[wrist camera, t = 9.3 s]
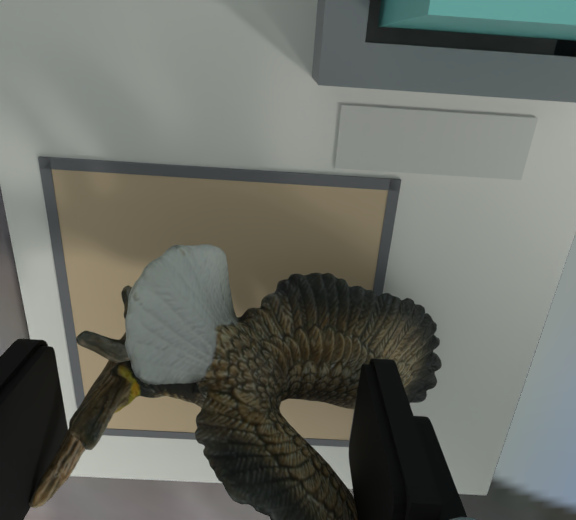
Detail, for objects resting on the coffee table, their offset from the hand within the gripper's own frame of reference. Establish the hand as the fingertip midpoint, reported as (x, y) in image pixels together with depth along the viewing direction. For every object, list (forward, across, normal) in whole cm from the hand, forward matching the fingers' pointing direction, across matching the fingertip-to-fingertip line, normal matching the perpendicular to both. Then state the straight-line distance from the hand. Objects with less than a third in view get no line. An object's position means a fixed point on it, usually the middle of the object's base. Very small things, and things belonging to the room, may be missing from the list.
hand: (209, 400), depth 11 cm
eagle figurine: (+3, -2, 0) cm, 3 cm away
